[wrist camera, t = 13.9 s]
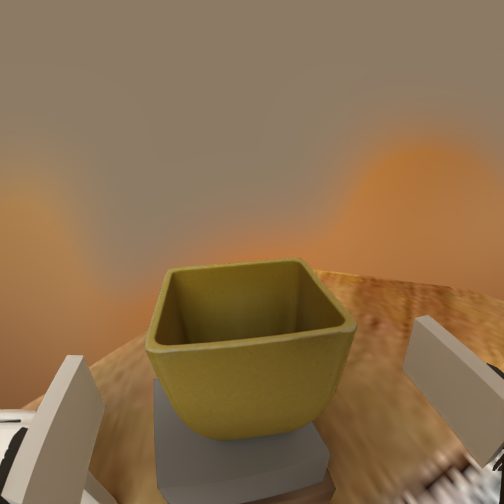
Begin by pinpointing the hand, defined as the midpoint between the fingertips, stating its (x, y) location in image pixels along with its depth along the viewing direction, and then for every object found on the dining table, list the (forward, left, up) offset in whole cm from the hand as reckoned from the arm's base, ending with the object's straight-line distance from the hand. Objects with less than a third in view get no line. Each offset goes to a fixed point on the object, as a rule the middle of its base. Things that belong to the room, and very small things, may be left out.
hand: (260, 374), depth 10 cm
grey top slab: (+1, -5, -12) cm, 13 cm away
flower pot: (0, -5, -8) cm, 10 cm away
